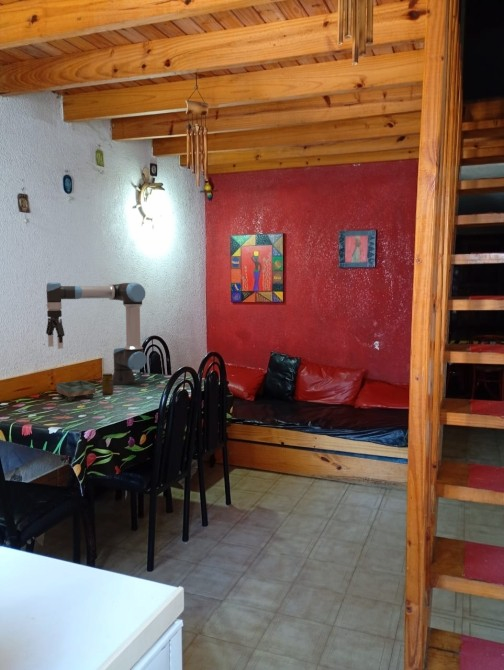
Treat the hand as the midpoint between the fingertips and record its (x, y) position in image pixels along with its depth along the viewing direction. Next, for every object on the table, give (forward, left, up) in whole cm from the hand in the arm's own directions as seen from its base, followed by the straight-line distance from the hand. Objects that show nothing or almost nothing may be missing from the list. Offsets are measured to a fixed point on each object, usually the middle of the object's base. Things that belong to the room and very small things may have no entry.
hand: (55, 347), depth 300 cm
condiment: (-24, +15, -28) cm, 40 cm away
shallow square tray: (-6, +12, -28) cm, 31 cm away
